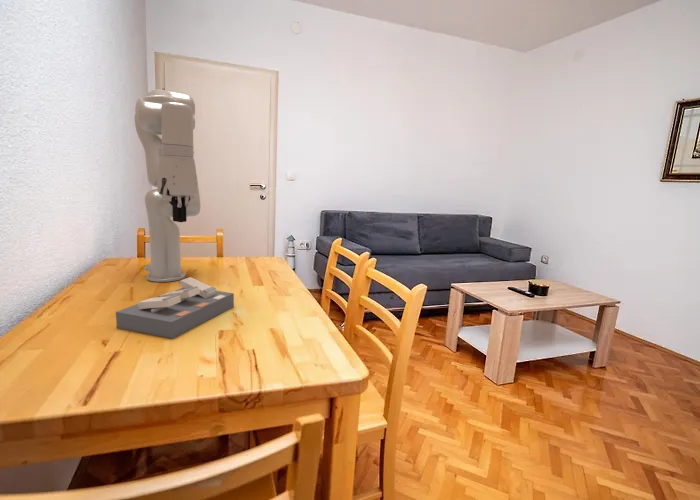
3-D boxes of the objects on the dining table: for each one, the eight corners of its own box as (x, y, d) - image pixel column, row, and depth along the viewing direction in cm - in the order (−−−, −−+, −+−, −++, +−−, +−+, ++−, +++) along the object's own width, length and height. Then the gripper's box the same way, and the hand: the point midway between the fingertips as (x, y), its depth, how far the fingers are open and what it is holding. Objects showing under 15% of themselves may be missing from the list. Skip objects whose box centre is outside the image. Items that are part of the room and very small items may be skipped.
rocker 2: (161, 301, 95) (159, 294, 95) (172, 297, 99) (171, 290, 99) (189, 297, 92) (187, 290, 92) (200, 293, 96) (198, 286, 96)
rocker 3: (179, 285, 101) (180, 279, 101) (189, 282, 105) (190, 276, 105) (206, 298, 100) (207, 292, 99) (215, 294, 103) (216, 288, 103)
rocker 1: (139, 309, 89) (137, 301, 88) (152, 304, 92) (150, 296, 92) (168, 306, 86) (167, 298, 86) (181, 301, 90) (179, 294, 89)
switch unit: (116, 327, 87) (115, 308, 87) (187, 299, 110) (186, 283, 109) (172, 338, 83) (171, 318, 82) (233, 306, 106) (233, 290, 105)
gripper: (186, 153, 105) (187, 217, 109) (143, 149, 91) (146, 223, 95) (208, 155, 103) (209, 220, 107) (168, 151, 89) (170, 226, 93)
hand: (179, 221), depth 101 cm, fingers closed
